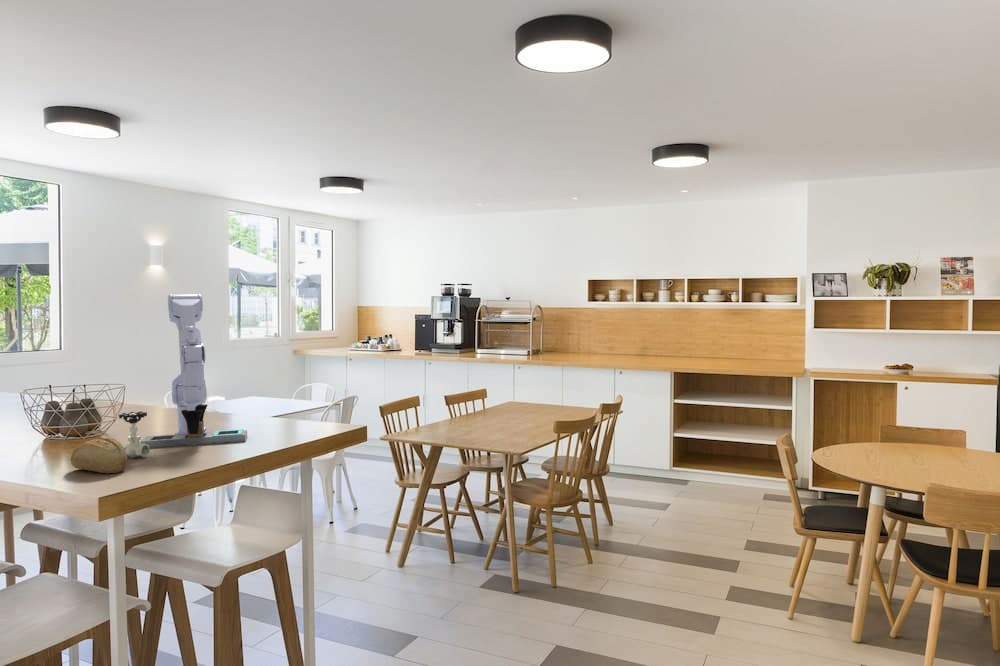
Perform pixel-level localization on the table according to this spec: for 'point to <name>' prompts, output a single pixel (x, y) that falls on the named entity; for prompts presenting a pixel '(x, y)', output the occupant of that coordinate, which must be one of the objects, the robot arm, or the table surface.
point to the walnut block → (200, 431)
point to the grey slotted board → (196, 438)
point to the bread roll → (100, 456)
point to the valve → (134, 436)
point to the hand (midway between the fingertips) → (195, 431)
